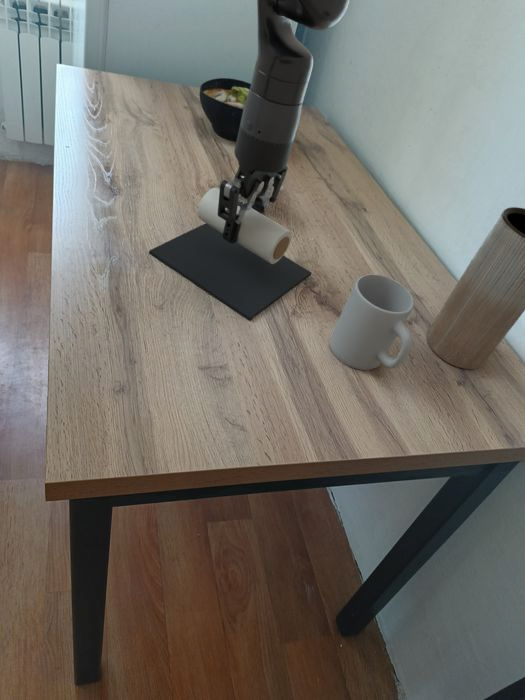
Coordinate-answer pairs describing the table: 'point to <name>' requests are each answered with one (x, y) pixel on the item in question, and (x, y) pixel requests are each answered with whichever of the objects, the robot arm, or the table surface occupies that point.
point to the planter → (484, 296)
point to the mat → (229, 270)
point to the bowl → (224, 104)
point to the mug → (373, 324)
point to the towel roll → (249, 229)
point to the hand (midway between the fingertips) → (241, 233)
